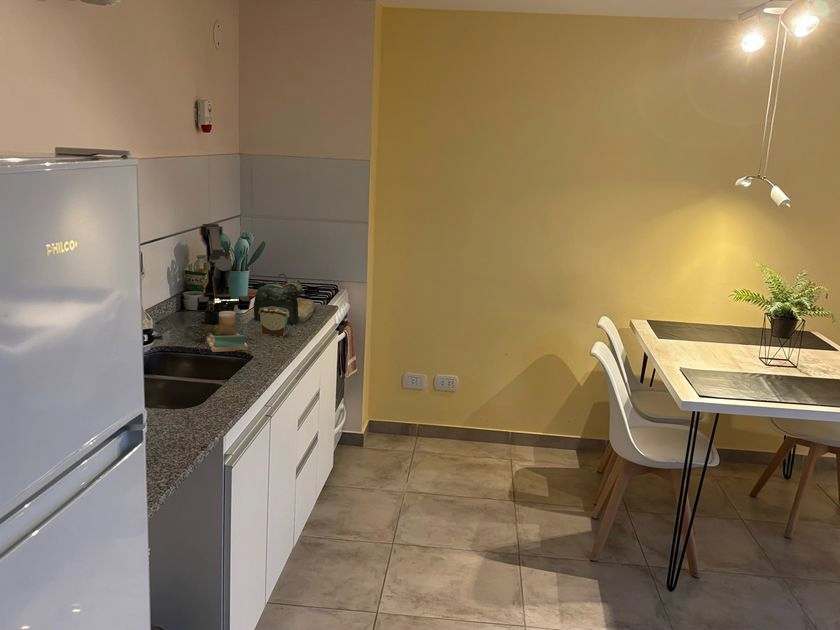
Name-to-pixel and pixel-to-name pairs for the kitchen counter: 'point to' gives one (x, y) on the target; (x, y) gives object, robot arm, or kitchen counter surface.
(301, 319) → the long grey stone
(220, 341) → the maple mount
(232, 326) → the brown cup
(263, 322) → the food container
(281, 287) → the ceramic cat
